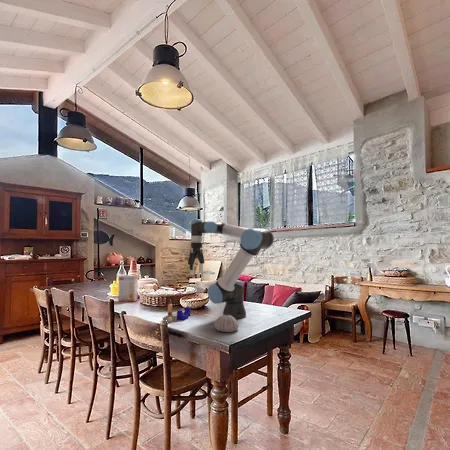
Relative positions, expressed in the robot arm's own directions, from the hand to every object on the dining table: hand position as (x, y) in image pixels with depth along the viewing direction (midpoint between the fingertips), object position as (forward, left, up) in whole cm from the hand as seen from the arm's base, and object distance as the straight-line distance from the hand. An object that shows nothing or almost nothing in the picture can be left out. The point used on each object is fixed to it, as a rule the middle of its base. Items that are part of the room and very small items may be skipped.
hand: (196, 274), depth 197 cm
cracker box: (+74, -23, -27) cm, 82 cm away
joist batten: (+8, +15, -27) cm, 32 cm away
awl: (+8, +21, -27) cm, 35 cm away
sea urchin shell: (-31, +26, -27) cm, 49 cm away
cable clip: (+3, +11, -27) cm, 29 cm away
